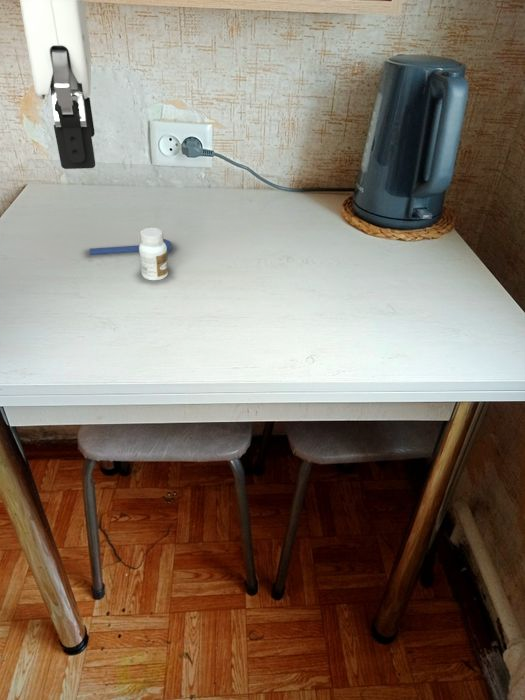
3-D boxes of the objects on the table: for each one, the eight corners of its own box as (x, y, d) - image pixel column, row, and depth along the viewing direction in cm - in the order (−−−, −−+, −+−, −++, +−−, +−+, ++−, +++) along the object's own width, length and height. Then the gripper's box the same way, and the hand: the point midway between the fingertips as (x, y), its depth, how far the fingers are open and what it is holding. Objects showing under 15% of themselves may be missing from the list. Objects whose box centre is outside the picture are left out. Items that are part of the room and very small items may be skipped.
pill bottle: (165, 282, 84) (162, 239, 79) (139, 280, 84) (134, 237, 79) (170, 268, 87) (168, 226, 82) (144, 266, 87) (140, 224, 82)
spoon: (89, 259, 88) (89, 254, 87) (89, 247, 91) (89, 242, 90) (172, 253, 91) (172, 248, 90) (169, 242, 94) (169, 237, 94)
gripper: (10, -61, 49) (47, 126, 60) (-19, -54, 36) (35, 183, 47) (91, -56, 50) (113, 125, 61) (92, -46, 38) (119, 180, 49)
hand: (79, 150), depth 54 cm, fingers open, 9 cm apart
